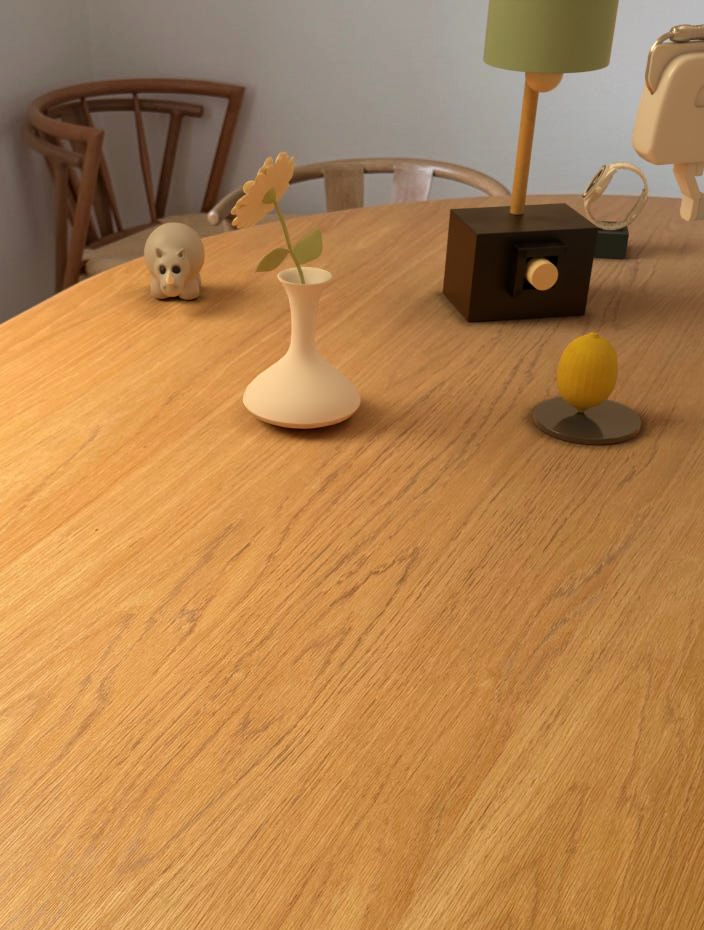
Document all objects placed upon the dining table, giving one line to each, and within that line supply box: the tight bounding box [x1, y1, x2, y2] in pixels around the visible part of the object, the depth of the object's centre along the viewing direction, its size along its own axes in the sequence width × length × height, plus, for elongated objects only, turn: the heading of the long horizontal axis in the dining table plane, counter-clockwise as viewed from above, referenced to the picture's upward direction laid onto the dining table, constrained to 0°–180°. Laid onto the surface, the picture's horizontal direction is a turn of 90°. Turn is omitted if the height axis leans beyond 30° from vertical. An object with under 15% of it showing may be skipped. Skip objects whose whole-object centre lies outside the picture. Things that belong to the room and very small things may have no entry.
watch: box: [581, 161, 649, 260], centre depth 161 cm, size 6×8×11 cm
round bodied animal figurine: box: [143, 221, 206, 301], centre depth 147 cm, size 7×12×8 cm, turn 176°
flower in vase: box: [230, 151, 362, 430], centre depth 115 cm, size 13×11×25 cm
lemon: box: [556, 331, 619, 413], centre depth 119 cm, size 6×6×8 cm
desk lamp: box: [442, 0, 620, 323], centre depth 138 cm, size 13×14×34 cm
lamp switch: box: [524, 257, 558, 290], centre depth 139 cm, size 2×3×3 cm
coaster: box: [532, 396, 642, 446], centre depth 121 cm, size 10×10×1 cm
